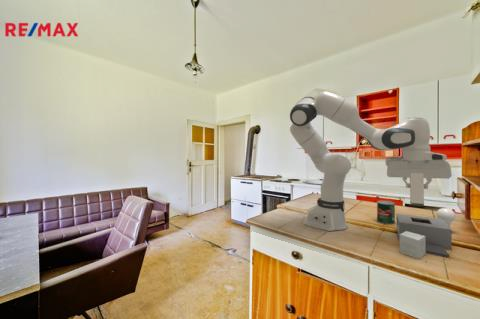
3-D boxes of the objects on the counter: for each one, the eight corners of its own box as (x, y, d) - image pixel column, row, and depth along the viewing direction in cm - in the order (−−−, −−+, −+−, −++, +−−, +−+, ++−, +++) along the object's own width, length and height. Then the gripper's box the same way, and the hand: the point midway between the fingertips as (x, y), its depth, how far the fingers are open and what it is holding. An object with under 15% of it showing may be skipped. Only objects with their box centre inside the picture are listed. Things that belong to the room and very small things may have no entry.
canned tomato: (378, 223, 105) (378, 203, 104) (376, 218, 112) (375, 200, 111) (396, 225, 101) (396, 204, 100) (393, 220, 108) (392, 201, 107)
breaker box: (399, 239, 85) (399, 222, 85) (396, 228, 97) (396, 213, 96) (451, 249, 76) (451, 229, 76) (441, 235, 87) (441, 218, 87)
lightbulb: (452, 234, 88) (452, 211, 87) (433, 229, 94) (433, 207, 93) (458, 231, 90) (458, 209, 90) (440, 227, 96) (440, 205, 96)
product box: (406, 248, 79) (406, 230, 78) (426, 254, 73) (426, 236, 73) (399, 252, 76) (399, 234, 75) (419, 259, 70) (419, 240, 70)
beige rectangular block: (411, 205, 82) (410, 172, 82) (410, 202, 85) (409, 171, 85) (424, 206, 80) (423, 173, 79) (422, 203, 83) (421, 171, 82)
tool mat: (423, 252, 75) (423, 250, 75) (419, 245, 80) (419, 242, 80) (449, 257, 70) (449, 255, 70) (443, 249, 76) (443, 246, 76)
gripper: (385, 157, 85) (386, 187, 86) (452, 155, 73) (453, 191, 74) (385, 156, 90) (386, 185, 91) (448, 154, 78) (448, 188, 79)
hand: (416, 188), depth 82 cm, fingers closed on beige rectangular block, 4 cm apart
